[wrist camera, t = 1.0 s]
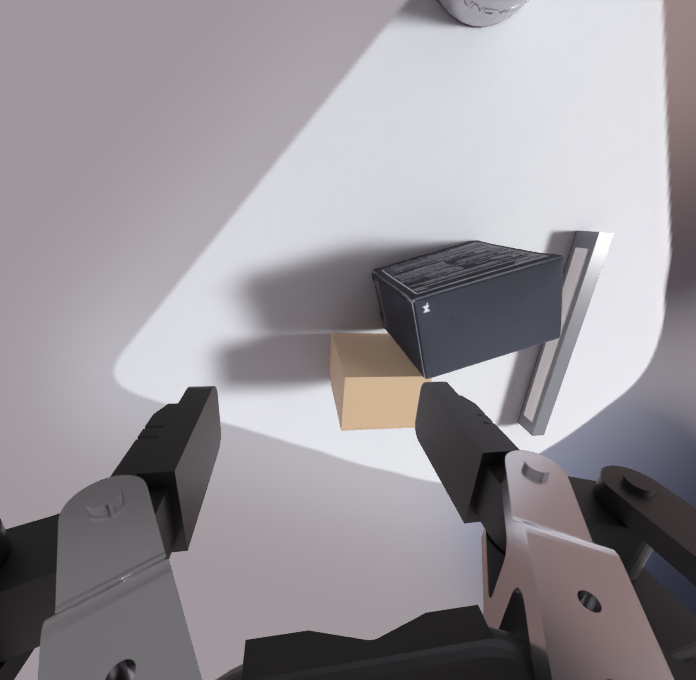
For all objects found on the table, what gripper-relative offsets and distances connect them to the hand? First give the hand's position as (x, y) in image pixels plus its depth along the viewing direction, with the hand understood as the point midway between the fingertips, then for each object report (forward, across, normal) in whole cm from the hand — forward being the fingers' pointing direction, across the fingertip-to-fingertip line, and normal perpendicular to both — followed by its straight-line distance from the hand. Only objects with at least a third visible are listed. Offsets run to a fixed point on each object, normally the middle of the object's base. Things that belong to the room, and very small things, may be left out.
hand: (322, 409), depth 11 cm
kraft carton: (+20, -6, +7) cm, 22 cm away
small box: (+20, -12, 0) cm, 23 cm away
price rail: (+20, -27, +5) cm, 34 cm away
